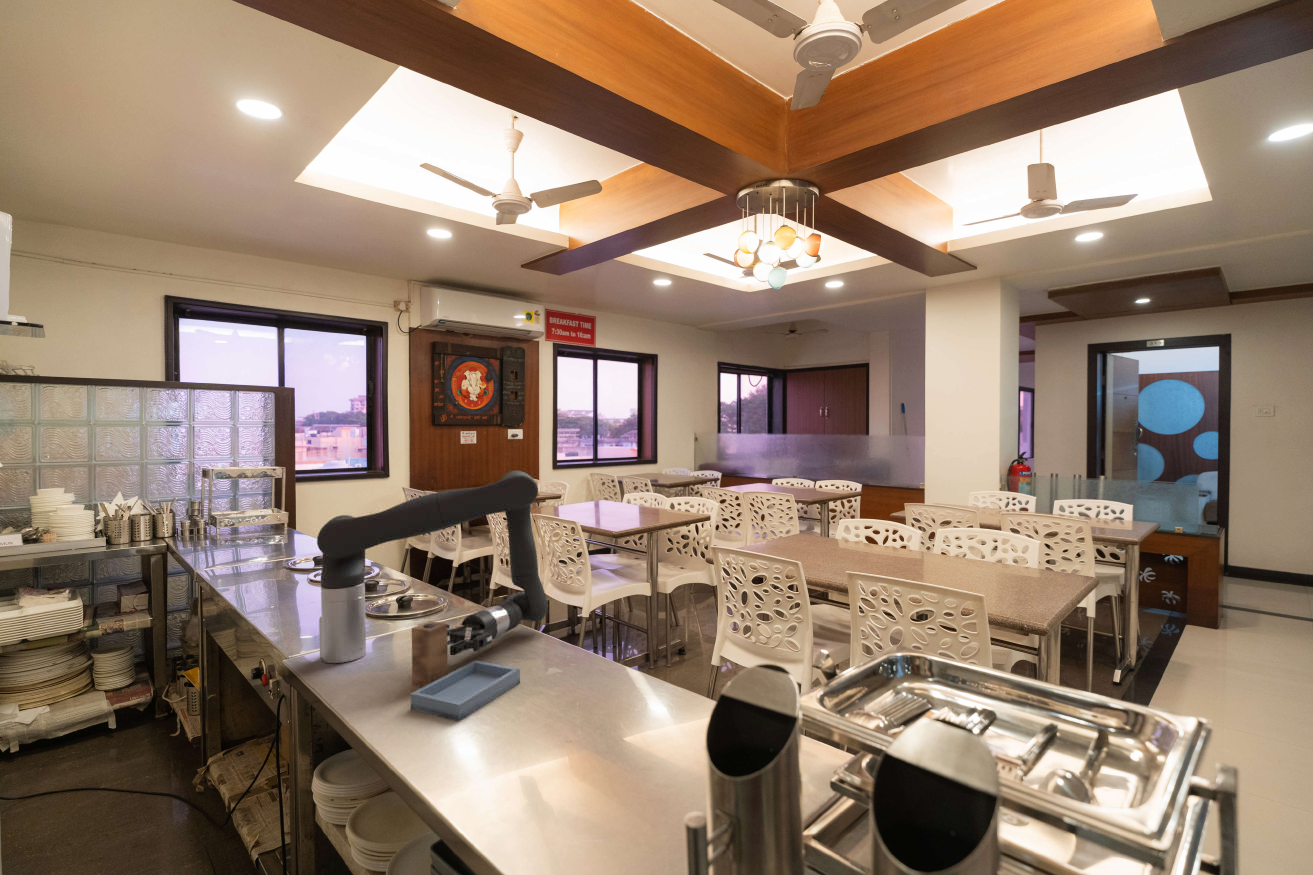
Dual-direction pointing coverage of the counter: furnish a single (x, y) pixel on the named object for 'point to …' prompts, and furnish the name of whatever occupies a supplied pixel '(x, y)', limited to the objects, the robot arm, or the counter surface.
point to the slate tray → (465, 690)
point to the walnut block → (429, 653)
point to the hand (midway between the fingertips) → (435, 648)
